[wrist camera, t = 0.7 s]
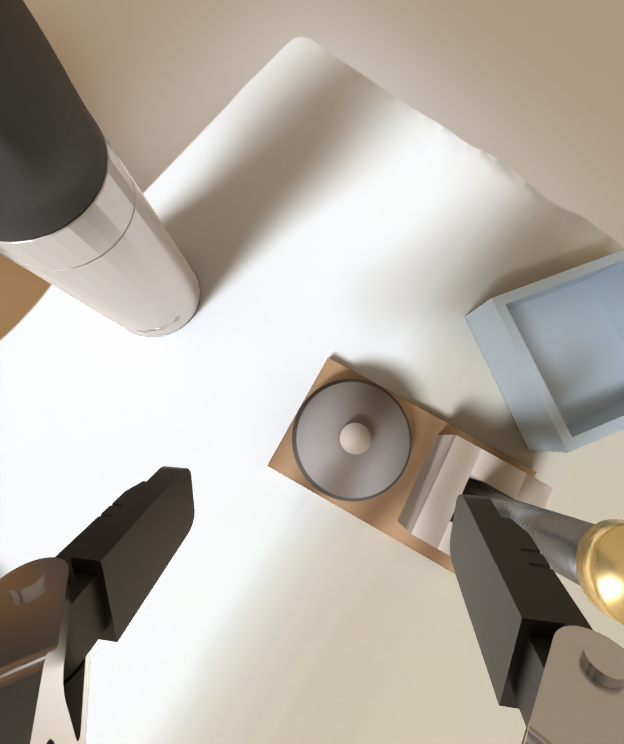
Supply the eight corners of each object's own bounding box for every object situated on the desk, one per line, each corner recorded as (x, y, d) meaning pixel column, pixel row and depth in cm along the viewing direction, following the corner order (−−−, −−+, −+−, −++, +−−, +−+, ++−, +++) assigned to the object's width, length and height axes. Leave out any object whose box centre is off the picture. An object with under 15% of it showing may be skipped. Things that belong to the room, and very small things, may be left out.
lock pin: (429, 486, 32) (580, 549, 15) (470, 469, 32) (662, 510, 15) (449, 532, 31) (630, 654, 14) (490, 514, 31) (715, 610, 14)
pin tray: (464, 316, 36) (491, 297, 31) (583, 272, 37) (626, 248, 32) (528, 449, 34) (567, 452, 29) (652, 397, 35) (709, 391, 30)
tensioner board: (268, 464, 32) (262, 470, 27) (327, 359, 34) (332, 346, 29) (481, 587, 31) (517, 618, 26) (529, 470, 33) (571, 477, 28)
